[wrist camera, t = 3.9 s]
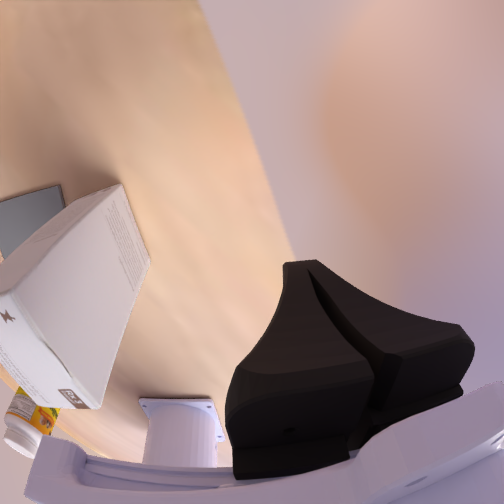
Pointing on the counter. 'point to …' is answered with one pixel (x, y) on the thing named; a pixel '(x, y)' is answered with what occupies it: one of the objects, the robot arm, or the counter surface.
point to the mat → (27, 216)
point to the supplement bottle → (28, 423)
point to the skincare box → (71, 300)
